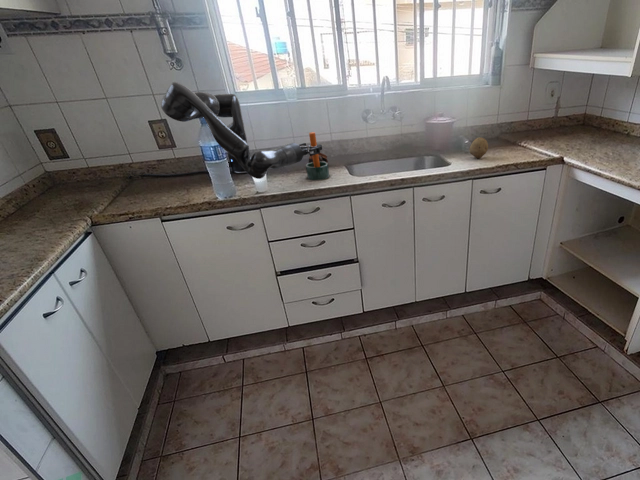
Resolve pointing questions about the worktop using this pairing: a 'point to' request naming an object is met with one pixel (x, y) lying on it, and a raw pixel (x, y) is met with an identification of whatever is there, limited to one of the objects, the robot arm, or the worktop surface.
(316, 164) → the dish brush
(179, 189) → the worktop surface
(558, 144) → the worktop surface
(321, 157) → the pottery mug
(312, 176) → the utensil cup
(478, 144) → the brown potato
